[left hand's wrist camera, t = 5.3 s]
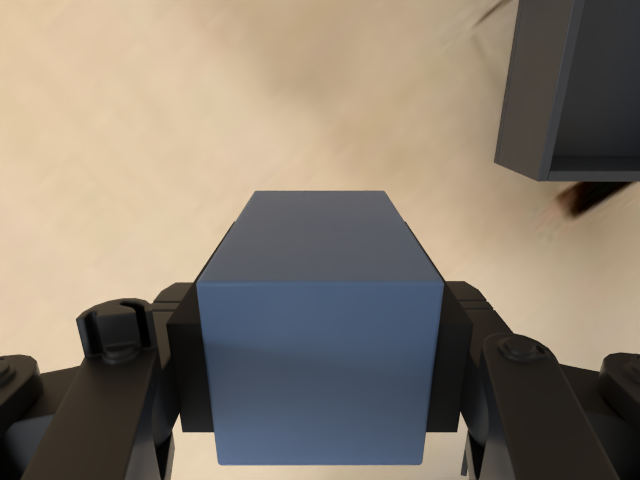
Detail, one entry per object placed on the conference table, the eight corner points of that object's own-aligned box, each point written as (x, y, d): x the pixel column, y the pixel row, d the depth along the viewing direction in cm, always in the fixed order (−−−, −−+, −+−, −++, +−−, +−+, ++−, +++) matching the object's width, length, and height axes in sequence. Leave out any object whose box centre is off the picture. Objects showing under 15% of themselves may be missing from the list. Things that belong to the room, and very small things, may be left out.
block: (378, 305, 15) (422, 466, 9) (261, 305, 15) (217, 467, 9) (385, 190, 14) (446, 281, 7) (254, 190, 14) (194, 281, 7)
